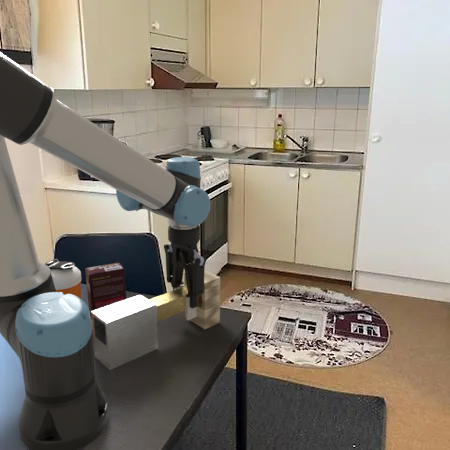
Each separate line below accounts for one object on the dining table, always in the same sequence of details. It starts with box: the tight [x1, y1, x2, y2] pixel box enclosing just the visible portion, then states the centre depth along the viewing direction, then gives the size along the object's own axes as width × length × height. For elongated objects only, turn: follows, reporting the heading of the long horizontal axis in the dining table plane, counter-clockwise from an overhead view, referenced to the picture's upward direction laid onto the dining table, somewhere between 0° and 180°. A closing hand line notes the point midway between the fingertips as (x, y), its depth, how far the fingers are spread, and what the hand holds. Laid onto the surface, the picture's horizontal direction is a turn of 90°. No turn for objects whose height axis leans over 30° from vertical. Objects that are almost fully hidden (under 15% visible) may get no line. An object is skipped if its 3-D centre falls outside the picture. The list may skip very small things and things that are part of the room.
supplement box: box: [84, 261, 127, 330], centre depth 114 cm, size 9×5×16 cm, turn 117°
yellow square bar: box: [148, 286, 202, 323], centre depth 111 cm, size 20×4×4 cm, turn 133°
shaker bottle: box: [43, 258, 82, 299], centre depth 106 cm, size 9×9×20 cm
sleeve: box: [91, 294, 159, 371], centre depth 104 cm, size 12×7×11 cm, turn 133°
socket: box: [183, 269, 221, 330], centre depth 118 cm, size 5×8×13 cm, turn 43°
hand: (185, 314), depth 115 cm, fingers closed on yellow square bar, 4 cm apart
